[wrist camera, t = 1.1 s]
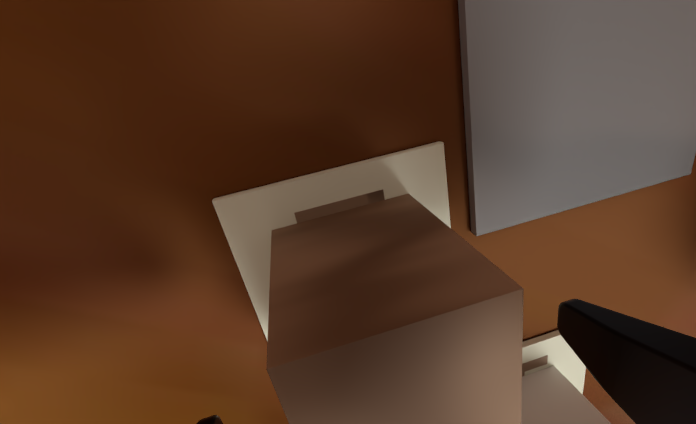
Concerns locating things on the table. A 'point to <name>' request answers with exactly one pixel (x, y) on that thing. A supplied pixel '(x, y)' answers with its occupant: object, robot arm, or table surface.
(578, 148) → the slate coaster
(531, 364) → the code tile
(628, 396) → the robot arm
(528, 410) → the beige block
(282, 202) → the cream glyph tile
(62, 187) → the table surface
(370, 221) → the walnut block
